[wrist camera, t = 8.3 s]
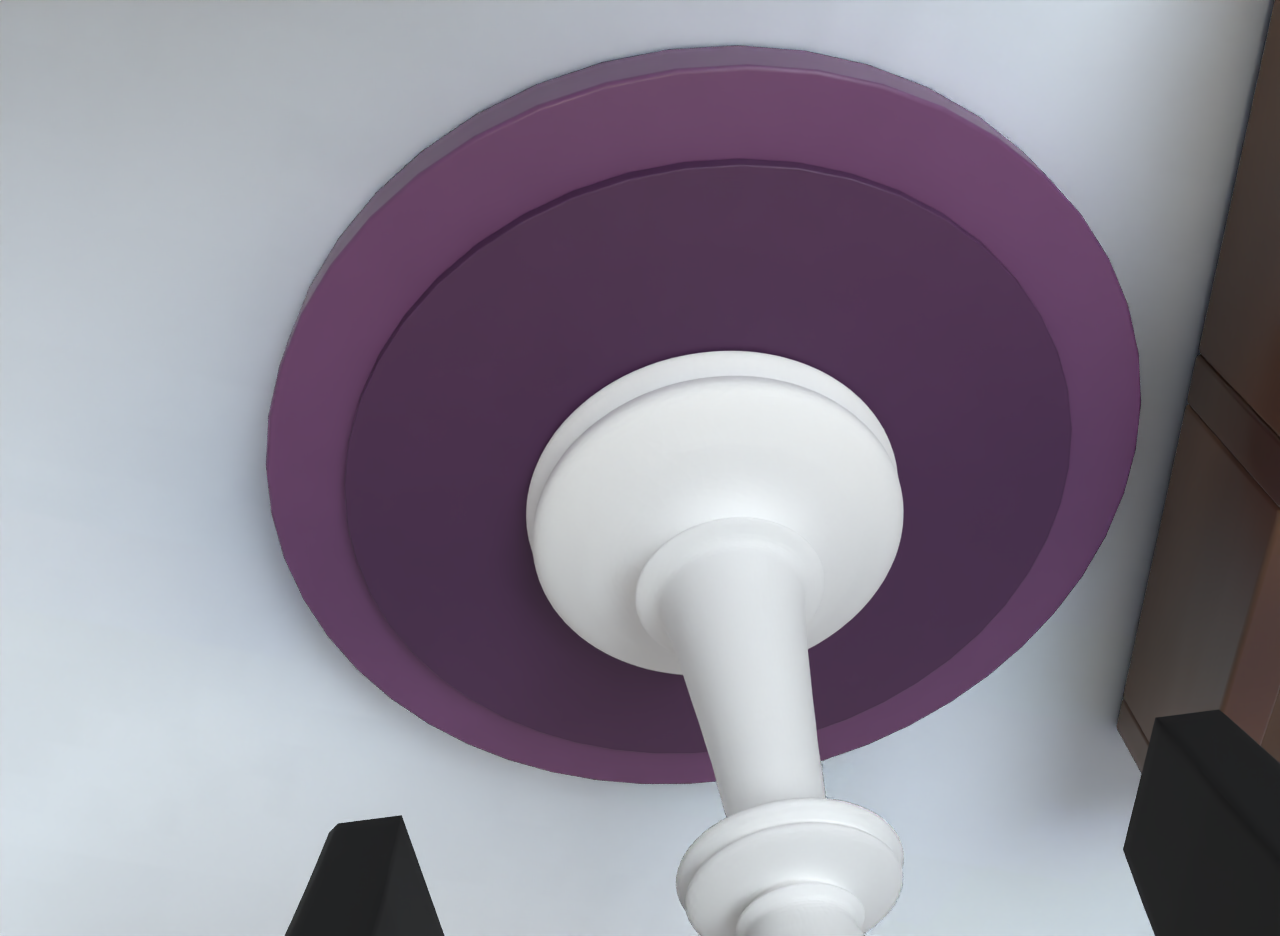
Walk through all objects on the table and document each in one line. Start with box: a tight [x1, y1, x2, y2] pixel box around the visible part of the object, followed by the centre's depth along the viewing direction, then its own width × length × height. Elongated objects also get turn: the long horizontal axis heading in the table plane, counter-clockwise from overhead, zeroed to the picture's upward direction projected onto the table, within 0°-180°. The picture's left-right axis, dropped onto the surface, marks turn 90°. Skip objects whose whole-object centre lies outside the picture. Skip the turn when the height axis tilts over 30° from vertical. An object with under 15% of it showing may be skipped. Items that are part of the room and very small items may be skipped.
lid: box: [266, 46, 1141, 784], centre depth 16 cm, size 12×12×1 cm
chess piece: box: [526, 351, 904, 936], centre depth 11 cm, size 5×5×10 cm
